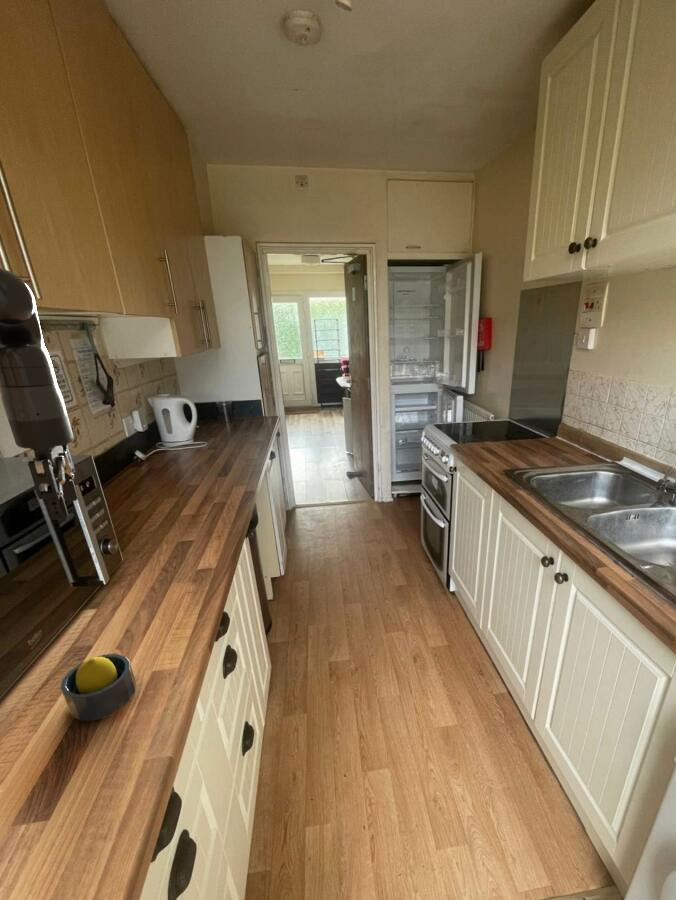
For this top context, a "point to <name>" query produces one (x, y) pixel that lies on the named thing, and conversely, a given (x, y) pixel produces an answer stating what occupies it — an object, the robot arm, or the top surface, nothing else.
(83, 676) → the lemon
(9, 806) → the top surface
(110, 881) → the top surface
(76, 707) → the bowl
